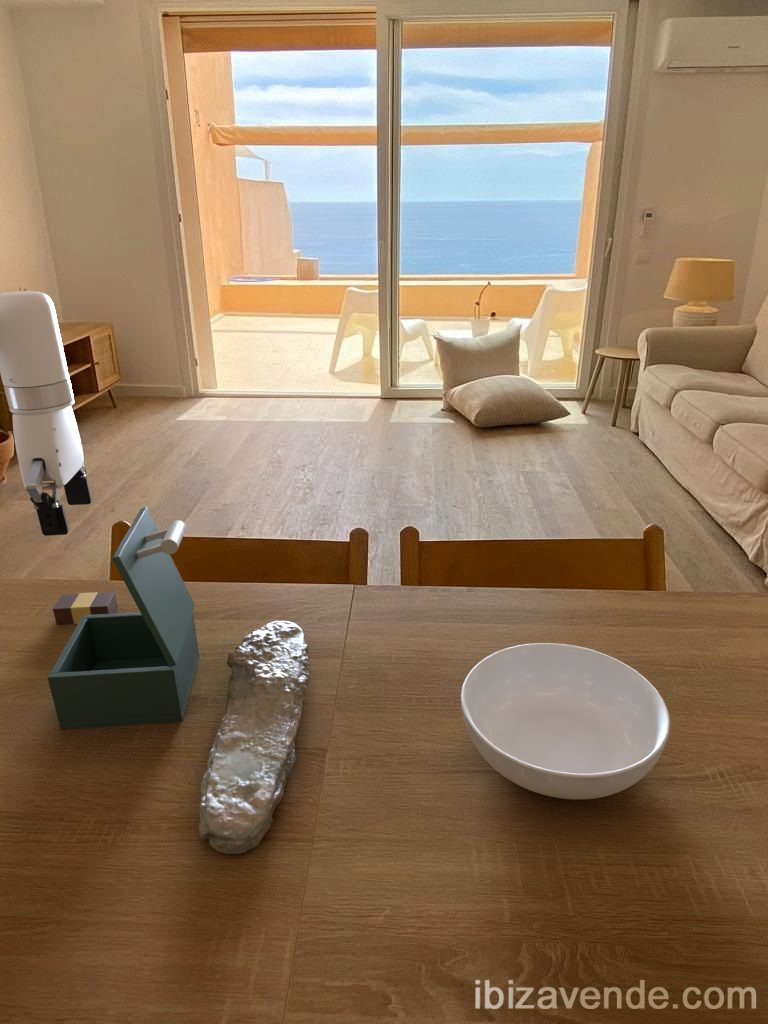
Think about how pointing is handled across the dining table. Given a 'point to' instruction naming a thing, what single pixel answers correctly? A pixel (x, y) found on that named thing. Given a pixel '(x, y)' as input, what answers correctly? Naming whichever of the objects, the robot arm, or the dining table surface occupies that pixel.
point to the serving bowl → (564, 719)
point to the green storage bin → (120, 674)
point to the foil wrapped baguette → (255, 737)
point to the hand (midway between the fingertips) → (68, 518)
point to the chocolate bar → (83, 606)
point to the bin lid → (156, 581)
